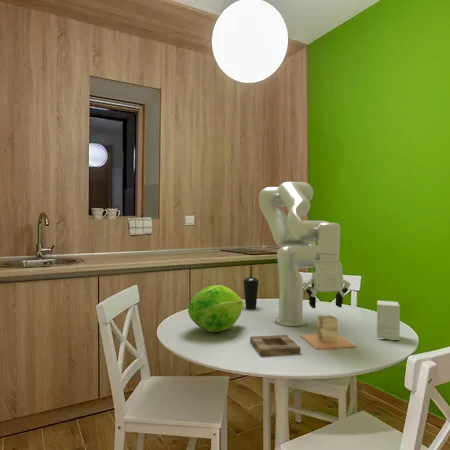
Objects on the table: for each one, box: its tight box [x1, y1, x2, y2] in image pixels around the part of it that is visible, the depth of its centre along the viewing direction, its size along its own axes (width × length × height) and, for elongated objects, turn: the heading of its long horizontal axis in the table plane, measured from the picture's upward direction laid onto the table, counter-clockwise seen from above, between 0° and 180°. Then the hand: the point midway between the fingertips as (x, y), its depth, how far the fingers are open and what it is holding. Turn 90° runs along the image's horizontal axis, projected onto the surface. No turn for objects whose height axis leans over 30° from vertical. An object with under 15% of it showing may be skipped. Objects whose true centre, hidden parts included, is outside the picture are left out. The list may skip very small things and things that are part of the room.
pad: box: [299, 333, 357, 351], centre depth 134 cm, size 14×14×1 cm
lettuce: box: [187, 284, 246, 333], centre depth 146 cm, size 19×25×17 cm
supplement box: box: [376, 300, 401, 341], centre depth 139 cm, size 7×7×13 cm
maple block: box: [316, 314, 338, 343], centre depth 134 cm, size 5×5×8 cm
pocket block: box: [249, 334, 301, 357], centre depth 127 cm, size 13×13×2 cm
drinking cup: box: [242, 265, 260, 310], centre depth 181 cm, size 8×8×20 cm
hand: (325, 306), depth 135 cm, fingers open, 9 cm apart
